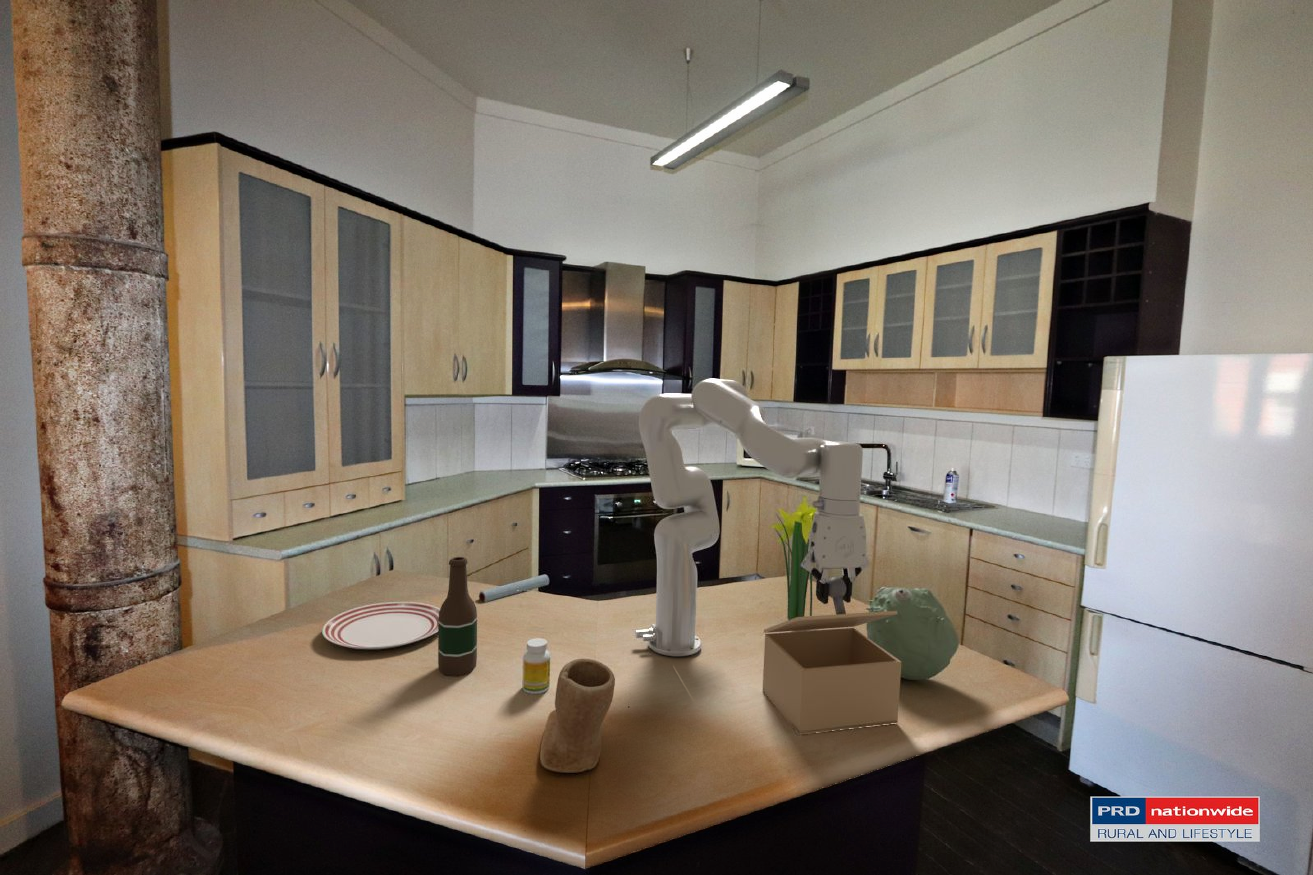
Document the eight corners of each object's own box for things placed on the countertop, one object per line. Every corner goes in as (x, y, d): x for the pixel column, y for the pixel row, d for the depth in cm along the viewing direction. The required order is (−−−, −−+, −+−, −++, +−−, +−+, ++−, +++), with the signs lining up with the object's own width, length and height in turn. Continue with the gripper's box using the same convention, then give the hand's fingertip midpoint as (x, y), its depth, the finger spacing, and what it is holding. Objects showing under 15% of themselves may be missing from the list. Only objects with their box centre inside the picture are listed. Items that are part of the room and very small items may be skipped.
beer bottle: (484, 665, 128) (485, 556, 126) (458, 681, 121) (459, 566, 119) (456, 658, 131) (457, 551, 129) (429, 672, 124) (430, 560, 122)
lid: (797, 620, 106) (789, 576, 109) (764, 632, 120) (757, 593, 123) (897, 614, 111) (887, 572, 114) (853, 626, 125) (845, 589, 128)
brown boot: (611, 780, 92) (613, 686, 91) (534, 779, 92) (535, 685, 90) (614, 725, 107) (617, 644, 106) (548, 724, 107) (550, 643, 105)
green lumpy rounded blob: (971, 694, 123) (978, 599, 121) (883, 695, 121) (890, 599, 119) (929, 659, 138) (935, 575, 137) (851, 660, 136) (856, 575, 135)
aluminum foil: (542, 584, 184) (542, 573, 184) (556, 589, 180) (556, 578, 179) (478, 602, 167) (478, 590, 167) (491, 608, 163) (492, 596, 162)
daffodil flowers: (764, 606, 170) (770, 485, 167) (816, 609, 169) (823, 487, 166) (770, 629, 153) (777, 495, 150) (829, 633, 152) (836, 498, 149)
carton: (799, 735, 106) (802, 670, 105) (762, 690, 121) (765, 633, 120) (897, 724, 110) (901, 661, 109) (850, 682, 126) (853, 627, 125)
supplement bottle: (519, 684, 120) (520, 638, 120) (545, 679, 123) (546, 634, 122) (526, 697, 116) (526, 649, 115) (552, 692, 118) (553, 645, 117)
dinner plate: (467, 618, 154) (467, 606, 154) (405, 665, 127) (405, 650, 127) (372, 608, 159) (372, 596, 159) (293, 652, 132) (293, 637, 132)
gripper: (807, 511, 107) (802, 610, 108) (889, 510, 111) (883, 605, 112) (789, 503, 114) (784, 596, 116) (866, 502, 118) (861, 592, 119)
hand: (833, 599), depth 114 cm, fingers closed on lid, 4 cm apart
